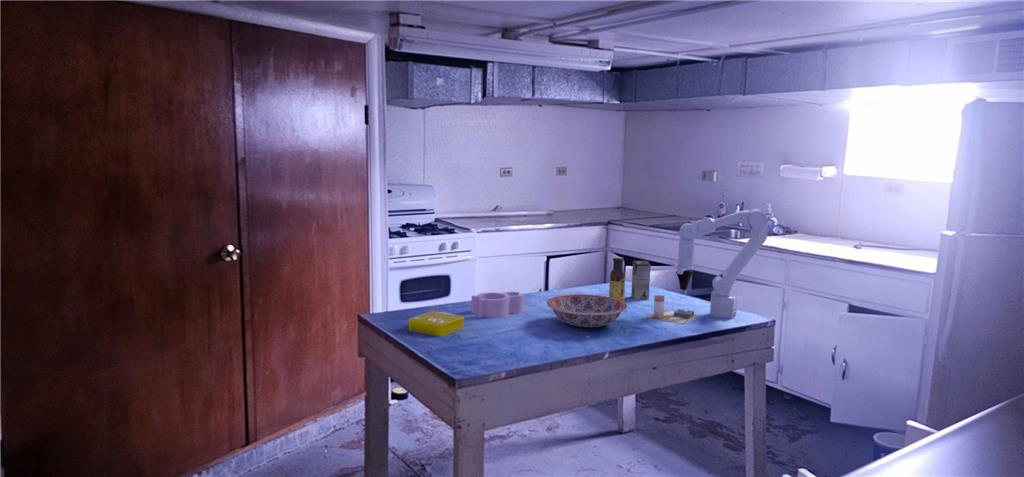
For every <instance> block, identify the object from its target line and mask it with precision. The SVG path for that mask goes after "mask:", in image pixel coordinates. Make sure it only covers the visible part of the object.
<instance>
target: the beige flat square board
mask: <svg viewBox="0 0 1024 477" xmlns="http://www.w3.org/2000/svg"><path fill="white" fill-rule="evenodd" d="M674 312H675V311H673V310H667V309H666V310H665V309H664V318H654V312H653V313H651V314H650V315H648V316H647V317H645V319H646V320H654V321H660V322H666V323H672V324H679V325H684V326H685V325H686V324H687V323H689V322H690V321H691V320H693V319H695V317H697V316H698V315H697V314H694V316H692V317H691V318H690V319H688V318H682V317H675V316H674Z"/></svg>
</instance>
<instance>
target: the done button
mask: <svg viewBox="0 0 1024 477" xmlns="http://www.w3.org/2000/svg"><path fill="white" fill-rule="evenodd" d="M679 309H680V312H681V313H687V314H688V312H689V309H687V308H686V309H685V308H684V309H683V308H679Z"/></svg>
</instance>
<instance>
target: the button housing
mask: <svg viewBox="0 0 1024 477" xmlns="http://www.w3.org/2000/svg"><path fill="white" fill-rule="evenodd" d="M680 309H681V308H678V309H676V310H675V311H674V316H675V317H682V318H688V319H690V318H691V317H692V316H694V315H695V310H689V309H688V310H689V312H688V314H687V313H681V312H680Z"/></svg>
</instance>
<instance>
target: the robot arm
mask: <svg viewBox="0 0 1024 477" xmlns="http://www.w3.org/2000/svg"><path fill="white" fill-rule="evenodd" d="M702 218H703V219H699V220H697V221H694V220H691V221H690V223H688V222H687V223H683V224H682V225H681V226H680V229H679V231H678V232H679V234H680V236H679V242H678V252H677V253H678V254H677V264H675V265H674V267H675V268H676V276H677V278H678V283H679V290H682V291H687V289H688V286H689V283H690V281H691V280H690V279H691V278H692V275H693V274H694V271H692V270H693V269H694V255H695V237H701V236H703V235H704V236H705V235H708V234H711V233H715V232H716V230H717V228H720V227H726V226H729V225H733V224H738V223H740V224H745V225H748V226H749V227H750V232H751V236H750V237H749V239H748V240H747V242H746V243H745V244H744V246H742V248H741V249H740V251H738V253H737V254H736V256H734V258H733V259H732V260H731V262H730V263H729V264H728V265H727V267H726V268H725V269H724V270H722V272H721V273H719V275H717V276H715V277H714V278H713V279H712V281H711V282H712V283H711V285H712V287H713V290H712V291H711V292H710V306H709V307H710V310H709V315H710V316H712V317H716V318H724V319H730V320H731V319H734V318H735V317H736V316H737V307H738V297H737V296H733V295H732V294H731V291H732V286H733V285H734V284H735V281H736V279H737V278H738V276H739V275H740V274H741V272H742V271H743V270H744V268H745V267H746V266H747V264H749V262H751V259H752V258H753V257H754V256H755V255H756V253H757V252H759V249H761V247H762V246H763V245H764V243H765V242H766V241H767V237H768V227H769V221H768V217H767V215H766V213H765V212H764V211H761V209H760V208H759V209H758V208H750V209H744V210H740V211H737V212H734V213H731V214H728V215H725V216H722V217H718V218H712V217H707V216H705V217H702Z"/></svg>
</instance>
